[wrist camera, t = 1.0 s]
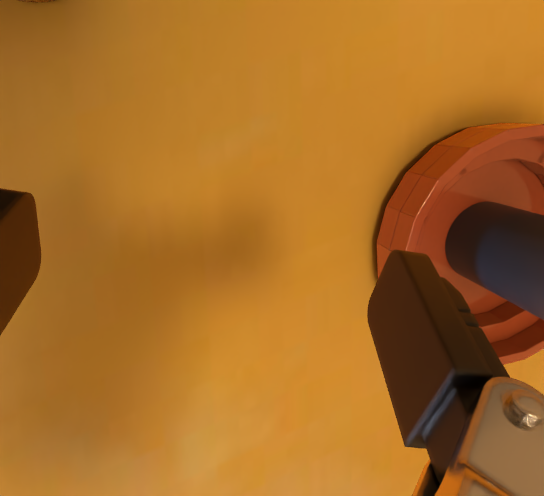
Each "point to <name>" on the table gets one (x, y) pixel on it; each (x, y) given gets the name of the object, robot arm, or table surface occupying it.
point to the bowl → (459, 196)
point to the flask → (501, 252)
